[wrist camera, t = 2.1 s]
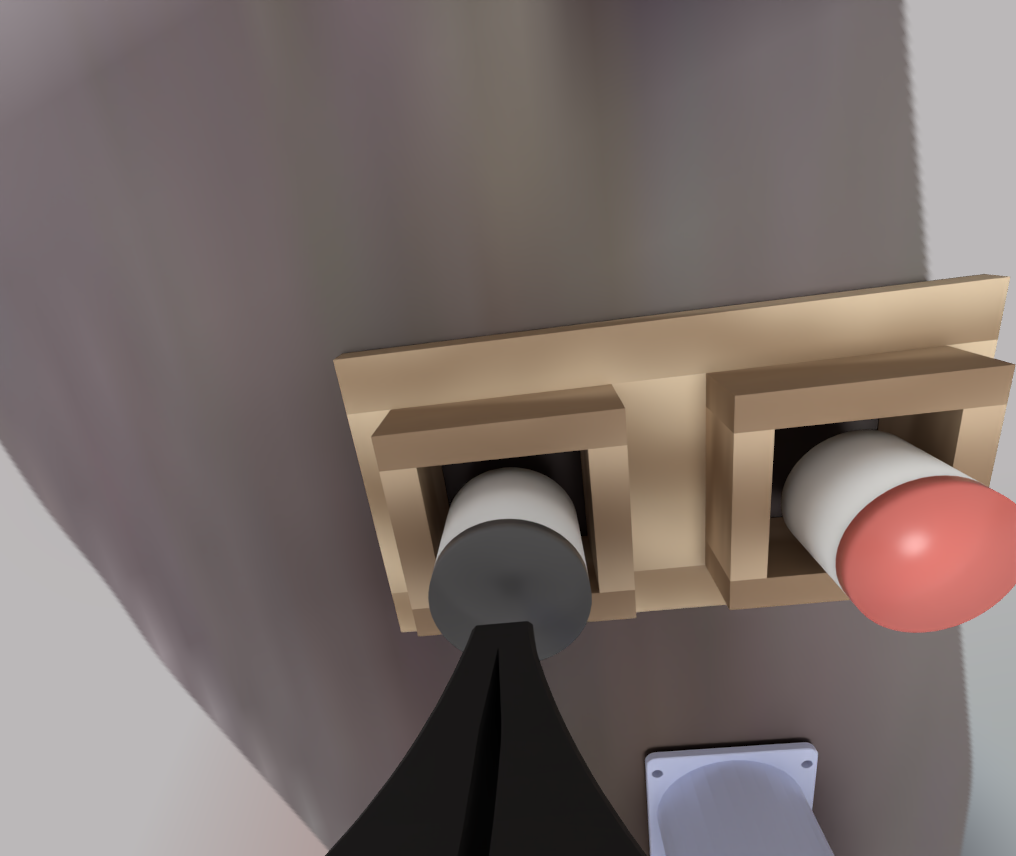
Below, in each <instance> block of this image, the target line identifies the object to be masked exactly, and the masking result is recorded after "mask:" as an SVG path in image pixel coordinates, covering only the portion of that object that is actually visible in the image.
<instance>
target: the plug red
mask: <svg viewBox="0 0 1016 856" xmlns="http://www.w3.org/2000/svg"><path fill="white" fill-rule="evenodd" d="M781 511H782V516H783V519H784V522H785V524H786V525H787V527H788V529H789V530H790V531H791V533H792V534H793V535H794V536H795V537H796V538H797V540H798V541H799V542H800V543H801V544H802V545H803V546H804V548H805V549H806V550H807V551H808V552H809V553H810V554H811V555H812V557H813V558H814V559H815V560H816V561H817V562H818V563H819V565H820V566H821V567H822V568H823V569H824V570H825V571H826V572H827V574H828V575H829V576H830V577H831V578H832V579H833V580H834V582H835V583H836V584H837V585H838V586H839V587H840V588H841V589H842V591H843V592H844V593H845V594H846V595H847V596H848V597H849V599H850V600H851V601H852V602H853V603H854V604H855V605H856V606H857V608H858V609H859V610H860V611H861V612H862V613H863V614H864V615H865V616H866V617H867V618H869V619H870V620H872V621H873V622H875V623H877V624H879V625H881V626H883V627H886V628H889V629H892V630H897V631H902V632H913V633H916V632H931V631H938V630H942V629H947V628H950V627H953V626H957V625H960V624H962V623H964V622H967V621H969V620H971V619H973V618H975V617H977V616H979V615H980V614H982V613H984V612H985V611H987V610H988V609H990V608H991V607H993V606H994V605H995V604H996V603H998V602H999V601H1000V600H1001V599H1002V598H1003V597H1004V596H1005V595H1006V594H1007V593H1008V592H1009V591H1010V590H1011V589H1012V588H1013V586H1014V585H1015V584H1016V504H1015V503H1014V502H1013V501H1011V500H1010V499H1008V498H1007V497H1005V496H1003V495H1001V494H1000V493H998V492H996V491H994V490H993V489H991V488H989V487H987V486H985V485H984V484H982V483H980V482H978V481H976V480H975V479H973V478H971V477H969V476H967V475H966V474H964V473H962V472H960V471H959V470H957V469H955V468H953V467H951V466H950V465H948V464H946V463H944V462H942V461H941V460H939V459H937V458H935V457H933V456H932V455H930V454H928V453H926V452H924V451H923V450H921V449H919V448H917V447H915V446H914V445H912V444H910V443H908V442H906V441H905V440H903V439H901V438H899V437H897V436H895V435H893V434H890V433H887V432H883V431H878V430H855V431H849V432H845V433H842V434H838V435H836V436H833V437H831V438H829V439H827V440H825V441H823V442H821V443H819V444H818V445H816V446H815V447H813V448H812V449H811V450H810V451H808V452H807V453H806V454H805V455H804V456H803V457H802V458H801V459H800V460H799V461H798V462H797V463H796V465H795V466H794V467H793V469H792V470H791V472H790V473H789V475H788V477H787V479H786V482H785V484H784V487H783V491H782V496H781Z"/></svg>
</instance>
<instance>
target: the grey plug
mask: <svg viewBox="0 0 1016 856" xmlns="http://www.w3.org/2000/svg"><path fill="white" fill-rule="evenodd" d="M428 602H429V609H430V612H431V615H432V618H433V620H434V622H435V624H436V626H437V628H438V629H439V631H440V632H441V633H442V635H443V636H444V637H445V638H446V639H447V640H448V641H449V642H450V643H451V644H452V645H454V646H455V647H456V648H458V649H459V650H461V651H462V652H463V651H464V649H465V647H466V644H467V642H468V639H469V637H470V634H471V631H472V629H473V628H474V627H475V626H476V625H487V624H498V623H510V622H521V621H529V622H530V623H531V624H533V628H534V635H535V642H536V649H537V653H538V657H539V660H540V661H541V660H543V659H546V658H549V657H551V656H553V655H555V654H557V653H559V652H560V651H562V650H563V649H565V648H566V647H567V646H569V645H570V644H571V643H572V642H573V641H574V640H575V639H576V638H577V637H578V636H579V634H580V633H581V631H582V630H583V629H584V627H585V625H586V623H587V621H588V618H589V615H590V611H591V605H592V593H591V587H590V582H589V577H588V571H587V566H586V561H585V555H584V550H583V545H582V540H581V534H580V529H579V524H578V519H577V513H576V510H575V507H574V504H573V502H572V500H571V499H570V497H569V496H568V494H567V493H566V491H565V490H564V489H563V488H562V487H561V486H560V485H559V484H557V483H556V482H555V481H554V480H552V479H551V478H549V477H547V476H546V475H543V474H541V473H539V472H536V471H533V470H530V469H525V468H516V467H508V468H499V469H494V470H490V471H487V472H485V473H482V474H480V475H478V476H476V477H475V478H473V479H471V480H470V481H469V482H468V483H466V484H465V485H464V486H463V487H462V488H461V489H460V490H459V492H458V493H457V494H456V496H455V497H454V499H453V501H452V503H451V506H450V508H449V511H448V515H447V519H446V523H445V527H444V531H443V534H442V538H441V542H440V546H439V550H438V554H437V558H436V561H435V565H434V569H433V573H432V577H431V581H430V585H429V591H428Z"/></svg>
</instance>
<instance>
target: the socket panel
mask: <svg viewBox="0 0 1016 856" xmlns="http://www.w3.org/2000/svg"><path fill="white" fill-rule="evenodd" d="M1009 280H1010V277H1008V276H998V275H987V274H982V275H973V276H966V277H957V278H949V279H941V280H933V281H925V282H917V283H909V284H901V285H892V286H884V287H876V288H868V289H860V290H852V291H844V292H836V293H828V294H820V295H812V296H804V297H796V298H788V299H780V300H771V301H763V302H755V303H747V304H739V305H731V306H723V307H715V308H707V309H699V310H691V311H683V312H675V313H667V314H658V315H650V316H642V317H634V318H626V319H618V320H610V321H602V322H594V323H586V324H578V325H570V326H562V327H554V328H546V329H537V330H529V331H521V332H513V333H505V334H497V335H489V336H481V337H473V338H465V339H457V340H449V341H441V342H433V343H424V344H416V345H408V346H400V347H392V348H384V349H376V350H368V351H360V352H352V353H344V354H341V355H340V356H338V357H337V358H336V359H334V360H333V361H334V365H335V369H336V373H337V377H338V381H339V385H340V389H341V393H342V397H343V401H344V405H345V409H346V413H347V417H348V421H349V425H350V429H351V433H352V437H353V441H354V445H355V449H356V453H357V457H358V461H359V465H360V469H361V473H362V477H363V481H364V485H365V489H366V493H367V497H368V501H369V505H370V509H371V513H372V517H373V521H374V525H375V529H376V533H377V537H378V541H379V545H380V549H381V553H382V557H383V561H384V565H385V569H386V573H387V577H388V581H389V585H390V589H391V593H392V597H393V601H394V605H395V609H396V613H397V617H398V621H399V625H400V629H401V632H410V631H417V633H418V636H429V635H440V634H442V633H441V632H440V631H439V629H438V628H437V626H436V624H435V622H434V620H433V618H432V615H431V612H430V609H429V602H428V591H429V585H430V581H431V577H432V573H433V569H434V565H435V561H436V558H437V554H438V550H439V546H440V542H441V538H442V534H443V531H444V527H445V523H446V519H447V515H448V511H449V502H448V497H447V492H446V487H445V481H444V476H443V471H442V466H441V465H447V464H456V463H466V462H475V461H484V460H494V459H503V458H512V457H521V456H531V455H540V454H549V453H559V452H568V451H577V450H580V454H581V465H582V477H583V488H584V500H585V511H586V523H587V534H588V536H581V540H582V545H583V550H584V555H585V561H586V566H587V571H588V577H589V582H590V587H591V593H592V605H591V611H590V615H589V618H588V621H587V622H594V621H606V620H617V619H629V618H636V612H644V611H656V610H667V609H679V608H691V607H702V606H714V605H726V604H727V606H728V608H729V610H735V609H747V608H759V607H771V606H783V605H794V604H806V603H818V602H830V601H842V600H850V599H849V597H848V596H847V595H846V594H845V593H844V592H843V591H842V589H841V588H840V587H839V586H838V585H837V584H836V583H835V582H834V580H833V579H832V578H831V577H830V576H829V575H828V574H827V572H826V571H825V570H824V569H823V568H822V567H821V566H820V565H819V563H818V562H817V561H816V560H815V559H814V558H813V557H812V555H811V554H810V553H809V552H808V551H807V550H806V549H805V548H804V546H803V545H802V544H801V543H800V542H799V541H798V540H797V538H796V537H795V536H794V535H793V534H792V533H791V531H790V530H789V529H788V527H787V525H786V524H785V522H784V519H783V517H776V518H770V509H771V490H772V471H773V453H774V434H775V429H782V428H792V427H801V426H810V425H819V424H829V423H838V422H847V421H857V420H866V419H875V418H879V425H878V431H883V432H887V433H890V434H893V435H895V436H897V437H899V438H901V439H903V440H905V441H906V442H908V443H910V444H912V445H914V446H915V447H917V448H919V449H921V450H923V451H924V452H926V453H928V454H930V455H932V456H933V457H935V458H937V459H939V460H941V461H942V462H944V463H946V464H948V465H950V466H951V467H953V468H955V469H957V470H959V471H960V472H962V473H964V474H966V475H967V476H969V477H971V478H973V479H975V480H976V481H978V482H980V483H982V484H984V485H985V486H987V487H989V485H990V480H991V475H992V471H993V466H994V462H995V457H996V452H997V448H998V443H999V438H1000V433H1001V429H1002V425H1003V420H1004V415H1005V410H1006V406H1007V401H1008V397H1009V392H1010V387H1011V383H1012V378H1013V373H1014V369H1015V364H1012V363H1008V362H1005V361H1001V360H997V359H994V354H995V350H996V345H997V340H998V335H999V330H1000V325H1001V320H1002V315H1003V310H1004V305H1005V300H1006V295H1007V290H1008V285H1009Z"/></svg>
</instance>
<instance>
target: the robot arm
mask: <svg viewBox="0 0 1016 856" xmlns="http://www.w3.org/2000/svg"><path fill="white" fill-rule="evenodd" d="M817 761H818V752H817V750H816V749H815V747H814V746H813V744H811V743H808V742H799V743H784V744H770V745H755V746H740V747H725V748H710V749H695V750H680V751H665V752H653V753H650V754H648V755H647V757H646V758H645V770H646V789H647V808H648V828H649V847H650V856H834V854H833V852H832V850H831V848H830V846H829V844H828V842H827V840H826V838H825V836H824V834H823V832H822V830H821V828H820V826H819V824H818V822H817V820H816V818H815V816H814V814H813V812H812V806H813V797H814V788H815V779H816V770H817ZM325 856H647V855H646V854H645V853H644V851H643V850H642V849H641V847H640V846H639V844H638V843H637V842H636V840H635V839H634V838H633V836H632V835H631V834H630V832H629V831H628V829H627V828H626V826H625V825H624V823H623V822H622V820H621V819H620V817H619V816H618V814H617V813H616V811H615V810H614V808H613V807H612V805H611V804H610V802H609V801H608V799H607V798H606V796H605V795H604V793H603V792H602V790H601V788H600V787H599V785H598V783H597V782H596V780H595V778H594V777H593V775H592V773H591V772H590V770H589V768H588V766H587V765H586V763H585V761H584V759H583V757H582V756H581V754H580V752H579V750H578V748H577V747H576V745H575V743H574V741H573V739H572V737H571V735H570V733H569V731H568V729H567V727H566V725H565V723H564V721H563V718H562V716H561V714H560V712H559V710H558V708H557V705H556V703H555V701H554V698H553V696H552V693H551V691H550V688H549V686H548V683H547V681H546V678H545V675H544V673H543V670H542V667H541V664H540V660H539V657H538V653H537V649H536V642H535V635H534V628H533V624H531V623H530V622H529V621H521V622H510V623H498V624H487V625H476V626H475V627H474V628H473V629H472V631H471V634H470V637H469V639H468V642H467V644H466V647H465V649H464V651H463V653H462V656H461V658H460V660H459V662H458V664H457V666H456V668H455V671H454V673H453V675H452V677H451V678H450V680H449V682H448V684H447V686H446V688H445V690H444V692H443V694H442V696H441V698H440V699H439V701H438V703H437V705H436V707H435V708H434V710H433V712H432V713H431V715H430V717H429V718H428V720H427V722H426V724H425V725H424V727H423V729H422V730H421V732H420V734H419V735H418V737H417V738H416V740H415V742H414V743H413V745H412V746H411V748H410V749H409V751H408V752H407V754H406V755H405V757H404V758H403V760H402V761H401V762H400V764H399V765H398V767H397V768H396V770H395V771H394V772H393V774H392V775H391V777H390V778H389V779H388V781H387V782H386V783H385V785H384V786H383V787H382V789H381V790H380V791H379V792H378V794H377V795H376V796H375V798H374V799H373V800H372V801H371V803H370V804H369V805H368V807H367V808H366V809H365V810H364V812H363V813H362V814H361V815H360V817H359V818H358V819H357V820H356V821H355V823H354V824H353V825H352V826H351V827H350V828H349V829H348V831H347V832H346V833H345V834H344V835H343V836H342V837H341V838H340V840H339V841H338V842H337V843H336V844H335V845H334V846H333V847H332V848H331V850H330V851H329V852H328V853H327V854H326V855H325Z"/></svg>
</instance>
